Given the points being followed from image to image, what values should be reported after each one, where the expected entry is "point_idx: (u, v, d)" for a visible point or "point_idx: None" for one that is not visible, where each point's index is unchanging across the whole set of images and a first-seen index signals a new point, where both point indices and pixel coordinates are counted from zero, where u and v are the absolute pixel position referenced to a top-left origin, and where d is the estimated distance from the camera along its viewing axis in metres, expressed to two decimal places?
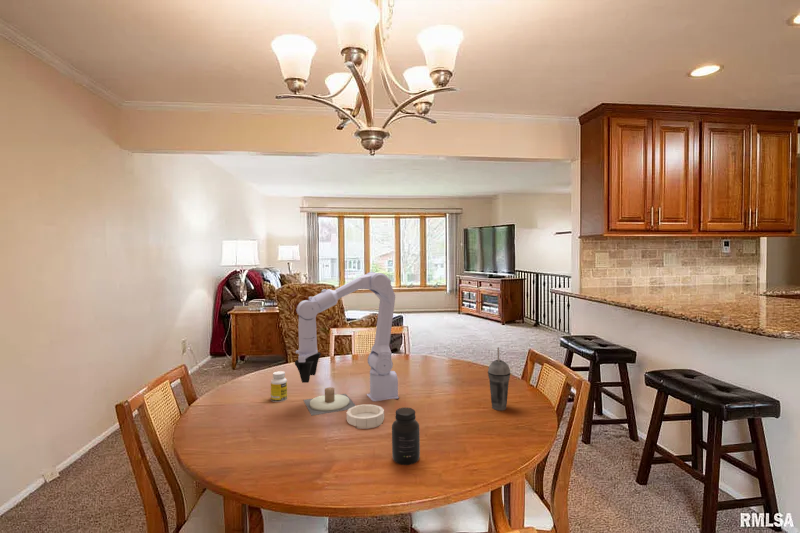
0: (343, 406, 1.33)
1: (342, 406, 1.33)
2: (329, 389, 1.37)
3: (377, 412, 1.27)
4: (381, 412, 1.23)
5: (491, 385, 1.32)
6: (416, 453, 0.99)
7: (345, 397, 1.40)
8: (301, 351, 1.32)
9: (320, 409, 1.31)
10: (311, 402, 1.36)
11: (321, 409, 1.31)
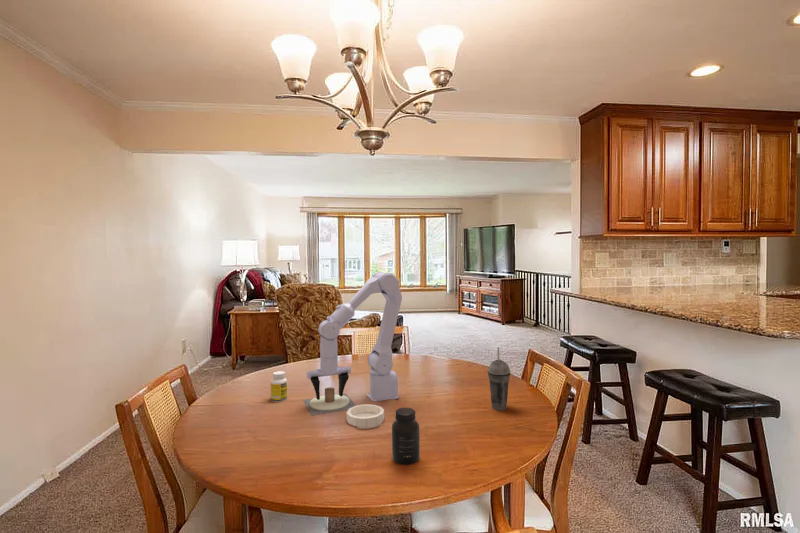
0: (343, 406, 1.33)
1: (342, 406, 1.33)
2: (329, 389, 1.37)
3: (377, 412, 1.27)
4: (381, 412, 1.23)
5: (491, 385, 1.32)
6: (416, 453, 0.99)
7: (345, 397, 1.40)
8: None
9: (320, 409, 1.31)
10: (311, 402, 1.36)
11: (321, 409, 1.31)
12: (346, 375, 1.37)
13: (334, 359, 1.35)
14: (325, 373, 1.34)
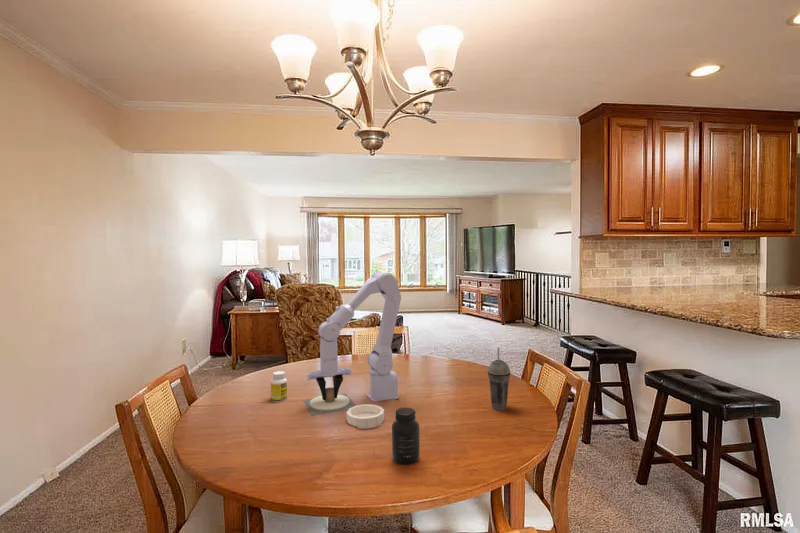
0: (343, 406, 1.33)
1: (342, 406, 1.33)
2: (329, 389, 1.37)
3: (377, 412, 1.27)
4: (381, 412, 1.23)
5: (491, 385, 1.32)
6: (416, 453, 0.99)
7: (345, 397, 1.40)
8: None
9: (320, 409, 1.31)
10: (311, 402, 1.36)
11: (321, 409, 1.31)
12: (340, 377, 1.37)
13: (334, 360, 1.35)
14: (325, 374, 1.34)
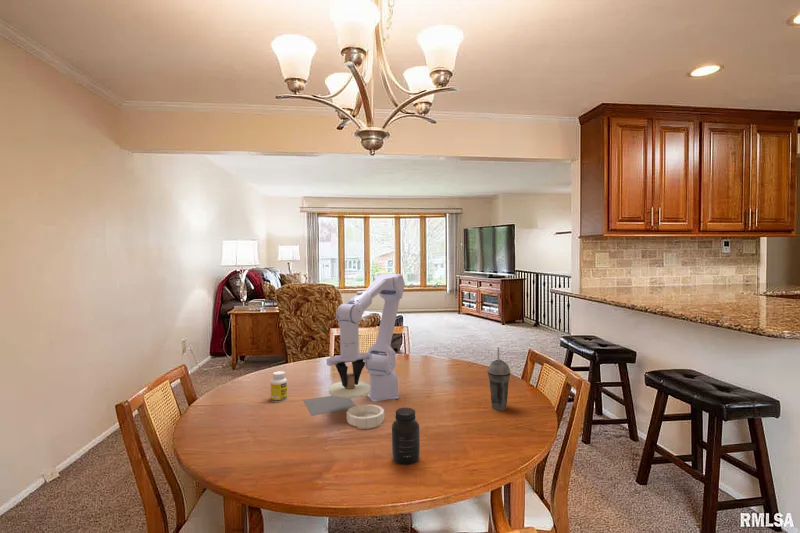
0: (366, 393, 1.26)
1: (365, 393, 1.26)
2: (350, 375, 1.29)
3: (377, 412, 1.27)
4: (381, 412, 1.23)
5: (491, 385, 1.32)
6: (416, 453, 0.99)
7: (364, 383, 1.33)
8: None
9: (343, 396, 1.23)
10: (330, 389, 1.27)
11: (344, 396, 1.23)
12: (362, 362, 1.29)
13: (356, 344, 1.27)
14: (347, 359, 1.26)
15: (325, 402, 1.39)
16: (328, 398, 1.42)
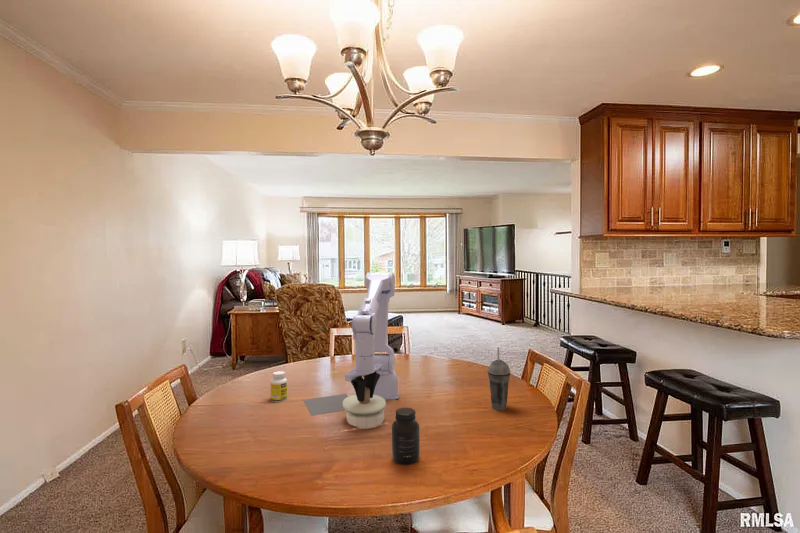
0: (385, 405, 1.23)
1: (384, 405, 1.23)
2: (365, 389, 1.24)
3: (377, 412, 1.27)
4: (381, 412, 1.23)
5: (491, 385, 1.32)
6: (416, 453, 0.99)
7: (375, 396, 1.29)
8: (355, 368, 1.23)
9: (365, 412, 1.18)
10: (347, 406, 1.21)
11: (367, 412, 1.18)
12: (377, 374, 1.25)
13: (373, 356, 1.23)
14: (366, 372, 1.21)
15: (325, 402, 1.39)
16: (328, 398, 1.42)
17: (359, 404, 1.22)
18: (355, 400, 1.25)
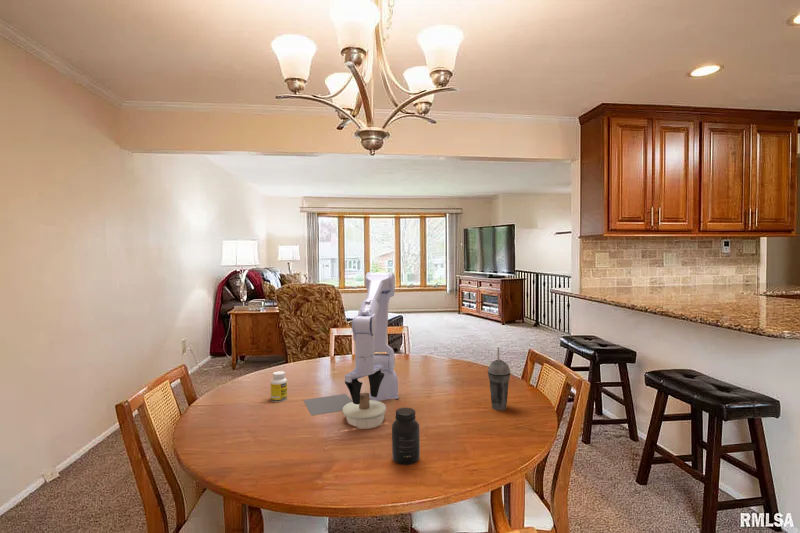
0: (385, 410, 1.23)
1: (384, 410, 1.23)
2: (364, 394, 1.24)
3: None
4: None
5: (491, 385, 1.32)
6: (416, 453, 0.99)
7: (375, 401, 1.29)
8: (355, 369, 1.23)
9: (366, 417, 1.18)
10: (347, 412, 1.21)
11: (367, 417, 1.18)
12: (381, 373, 1.27)
13: (373, 357, 1.23)
14: (366, 373, 1.21)
15: (325, 402, 1.39)
16: (328, 398, 1.42)
17: (359, 410, 1.22)
18: (355, 406, 1.25)
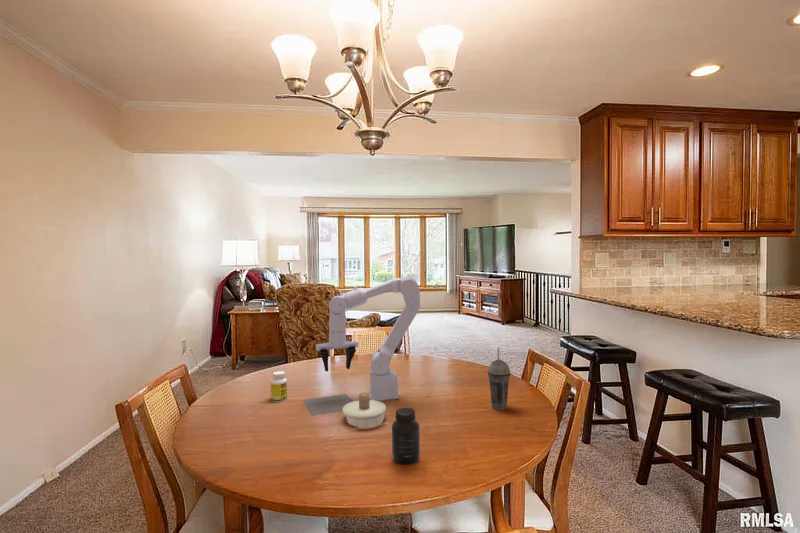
0: (385, 410, 1.23)
1: (384, 410, 1.23)
2: (364, 394, 1.24)
3: None
4: None
5: (491, 385, 1.32)
6: (416, 453, 0.99)
7: (375, 401, 1.29)
8: None
9: (366, 417, 1.18)
10: (347, 412, 1.21)
11: (367, 417, 1.18)
12: (353, 349, 1.43)
13: (342, 333, 1.41)
14: (334, 346, 1.40)
15: (325, 402, 1.39)
16: (328, 398, 1.42)
17: (359, 410, 1.22)
18: (355, 406, 1.25)
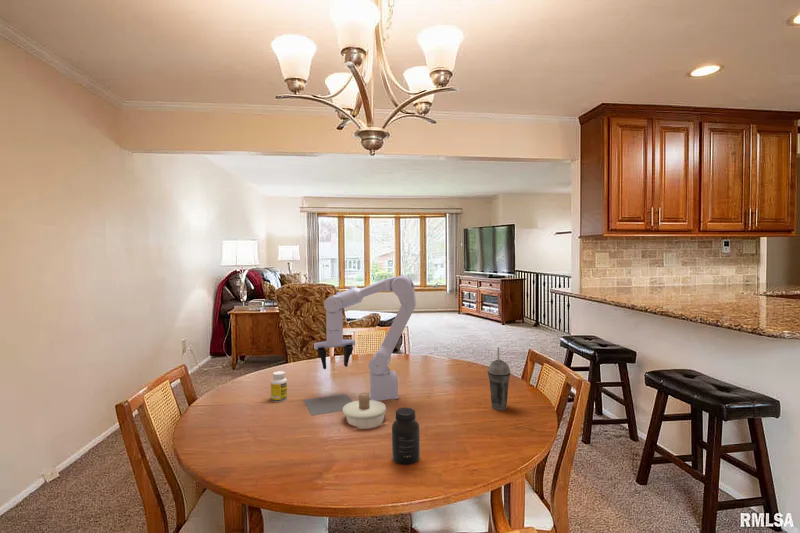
0: (385, 410, 1.23)
1: (384, 410, 1.23)
2: (364, 394, 1.24)
3: None
4: None
5: (491, 385, 1.32)
6: (416, 453, 0.99)
7: (375, 401, 1.29)
8: None
9: (366, 417, 1.18)
10: (347, 412, 1.21)
11: (367, 417, 1.18)
12: (351, 347, 1.46)
13: (339, 331, 1.44)
14: (331, 344, 1.43)
15: (325, 402, 1.39)
16: (328, 398, 1.42)
17: (359, 410, 1.22)
18: (355, 406, 1.25)
